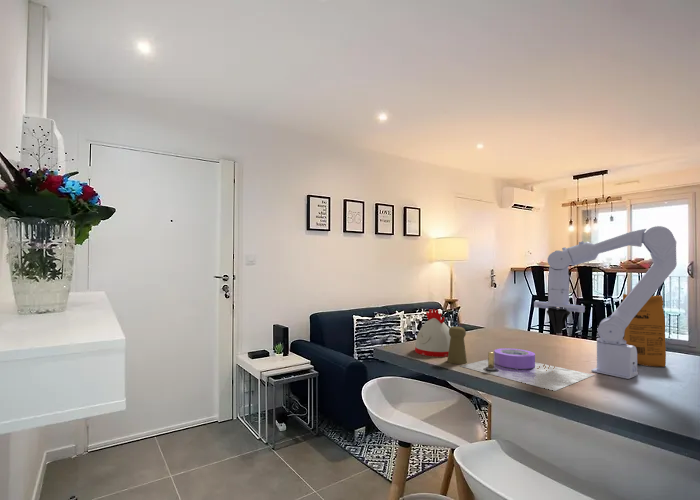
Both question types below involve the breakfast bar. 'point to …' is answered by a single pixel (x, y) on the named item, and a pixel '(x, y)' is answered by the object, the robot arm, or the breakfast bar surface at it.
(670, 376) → the breakfast bar surface
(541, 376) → the light grey flat board
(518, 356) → the masking tape
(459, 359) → the cork
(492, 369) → the fixed brass pin
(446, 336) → the kitchen timer
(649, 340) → the coffee package
